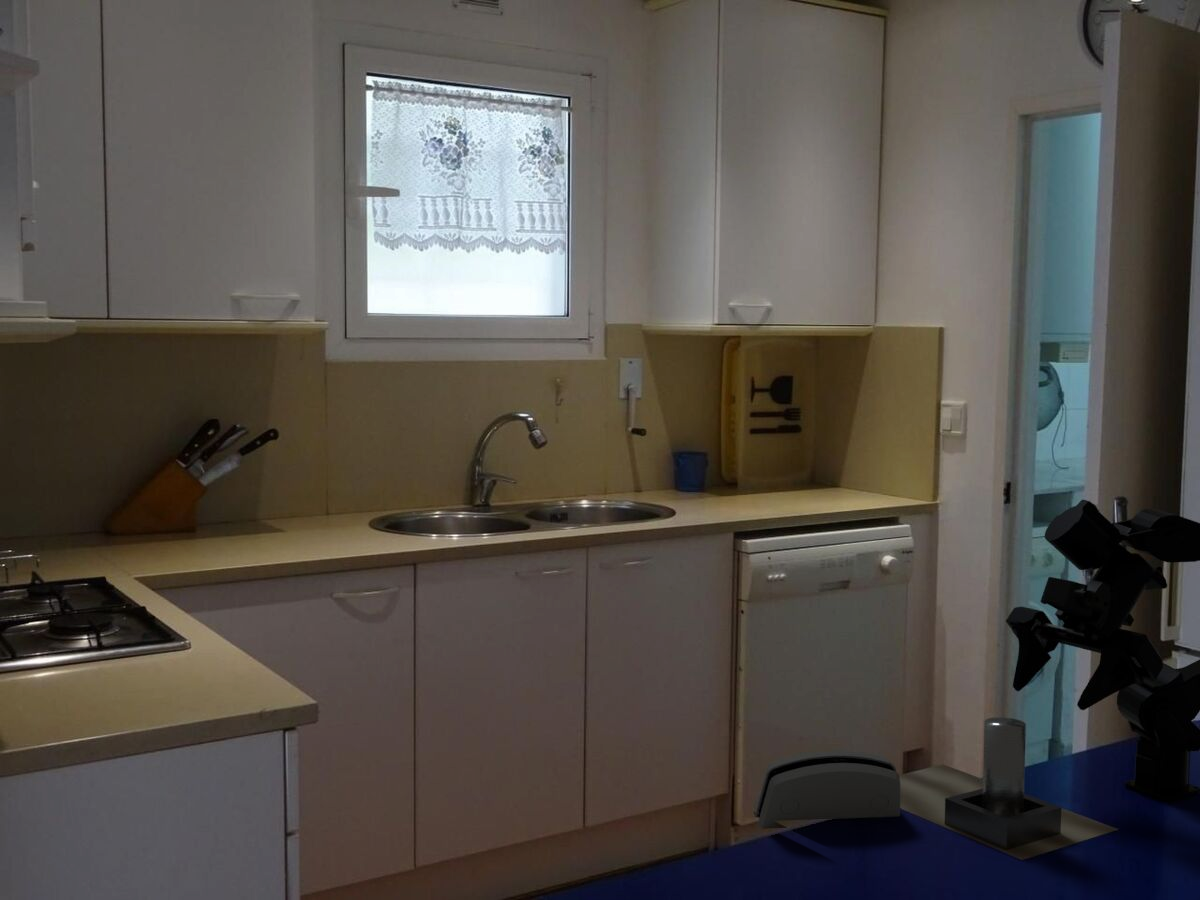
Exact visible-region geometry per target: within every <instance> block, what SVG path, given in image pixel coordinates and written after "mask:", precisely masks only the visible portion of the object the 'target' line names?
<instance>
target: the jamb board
mask: <svg viewBox="0 0 1200 900" xmlns="http://www.w3.org/2000/svg"><path fill="white" fill-rule="evenodd" d="M899 778H900V810H903V811H905V812H907V813H910V814H912V815H914V816H917V817H920V818H922V819H924V820H926V821H929V822H931V823H934V824H936V825H938V826H941V827H943V828H945V829H947V830H950V831H951V832H954V833H957V834H959V835H962V836H964V837H967V838H969V839H972V840H974V841H976V842H978V843H981V844H983V845H985V846H988V847H990V848H993V849H994V850H998V851H1000V852H1002V853H1004V854H1007V855H1010V856H1011V857H1014V858H1016V859H1019V860H1021V861H1024V860H1027V859H1030V858H1033V857H1036V856H1039V855H1043V854H1046V853H1049V852H1052V851H1056V850H1058V849H1061V848H1065V847H1068V846H1071V845H1075V844H1078V843H1081V842H1085V841H1087V840H1091V839H1093V838H1097V837H1100V836H1103V835H1107V834H1110V833H1113V832H1116V831H1119V830H1120V829H1119V828H1116V827H1113V826H1111V825H1108V824H1107V823H1106V824H1105V823H1103V822H1100V821H1097V820H1094V819H1091V818H1089V817H1088V816H1087V817H1086V816H1084V815H1081V814H1078V813H1075V812H1073V811H1070V810H1068V809H1065V808H1062V809H1061V834H1058V835H1055V836H1051V837H1048V838H1045V839H1042V840H1038V841H1035V842H1032V843H1028V844H1025V845H1022V846H1019V847H1015V848H1012V849H1009V850H1005V849H1002V848H1000V847H998V846H995V845H993V844H990V843H988V842H986V841H983V840H981V839H979V838H976V837H974V836H971V835H969V834H967V833H964V832H962V831H959V830H957V829H955V828H952V827H950V826H947V825H945V798H949V797H952V796H956V795H960V794H964V793H967V792H971V791H975V790H979V789H982V788H983V778H981V777H979V776H976V775H972V774H970V773H967V772H965V771H963V770H959V769H957V768H955V767H952V766H949V765H946V764H944V763H943V764H940V765H935V766H930V767H926V768H923V769H920V770H915V771H911V772H905V773H902V774H899ZM978 780H979V781H978Z"/></svg>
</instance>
